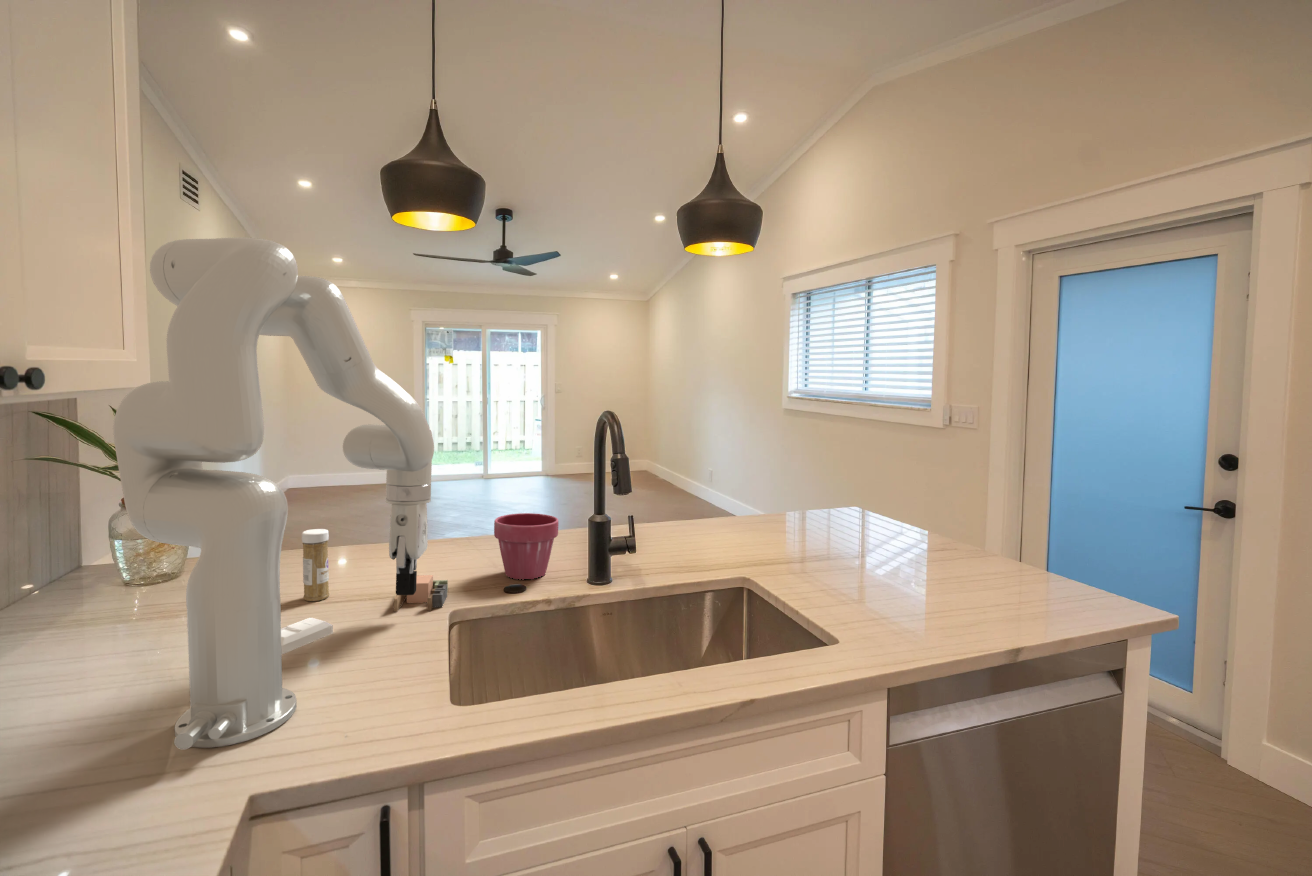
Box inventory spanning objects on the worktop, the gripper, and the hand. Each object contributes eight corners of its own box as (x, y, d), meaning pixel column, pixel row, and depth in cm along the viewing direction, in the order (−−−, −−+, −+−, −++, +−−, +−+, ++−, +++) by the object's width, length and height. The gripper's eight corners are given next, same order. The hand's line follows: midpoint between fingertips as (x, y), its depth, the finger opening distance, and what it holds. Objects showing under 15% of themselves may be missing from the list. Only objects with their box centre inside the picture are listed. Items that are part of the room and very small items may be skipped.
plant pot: (543, 561, 147) (544, 510, 146) (567, 578, 135) (568, 522, 134) (485, 569, 139) (485, 515, 138) (505, 588, 127) (506, 528, 126)
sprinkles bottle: (330, 599, 117) (329, 532, 116) (303, 603, 115) (302, 534, 114) (328, 592, 121) (327, 527, 120) (302, 596, 119) (301, 529, 117)
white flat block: (332, 635, 102) (332, 620, 102) (282, 656, 94) (282, 640, 94) (312, 629, 104) (312, 615, 104) (261, 650, 96) (260, 634, 96)
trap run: (440, 610, 114) (440, 597, 113) (393, 612, 112) (393, 599, 112) (449, 591, 124) (449, 580, 124) (406, 593, 122) (406, 581, 122)
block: (428, 602, 118) (428, 583, 117) (406, 603, 117) (406, 583, 117) (433, 594, 123) (433, 575, 122) (412, 594, 122) (412, 575, 122)
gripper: (422, 500, 102) (419, 606, 103) (437, 488, 116) (434, 581, 117) (375, 499, 100) (372, 607, 101) (396, 487, 115) (394, 582, 116)
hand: (406, 593), depth 109 cm, fingers closed
